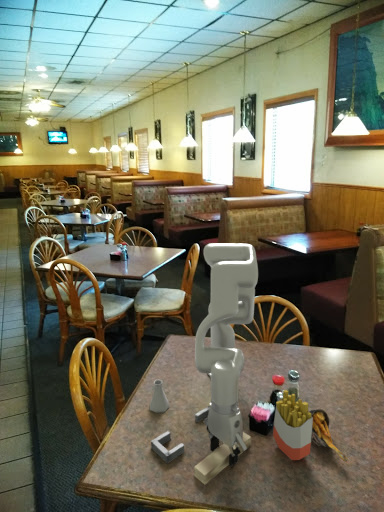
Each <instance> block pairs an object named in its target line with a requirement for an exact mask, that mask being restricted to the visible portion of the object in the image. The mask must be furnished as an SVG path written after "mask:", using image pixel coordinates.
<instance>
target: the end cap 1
mask: <svg viewBox="0 0 384 512" xmlns="http://www.w3.org/2000/svg"><path fill="white" fill-rule="evenodd" d="M169 441H171V432H170V431H169V430H167V431H165V432H163V433H162V434H160V435H159V436H157V437H155V438H154V439H152V440H151V441H150V447H151V449H152V450H153V451H154V452H155V453H156V454H157V455H158V456H159V457H160V458H161V459H162V460H163V461H164V463H166V464H170V462H172V461H173V460H175V459H176V458H178V457H179V456H181V455H182V454H184V453H185V445H184V443H182V442H181V443H179V444H178V445H176V446H175V447H173V448H171V449H170V450H168V449H167V448H166V447H164V444H166V443H167V442H169Z"/></svg>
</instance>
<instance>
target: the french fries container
mask: <svg viewBox="0 0 384 512" xmlns="http://www.w3.org/2000/svg"><path fill="white" fill-rule="evenodd" d="M275 405H276V406H275V411H274V418H273V419H274V421H273V431H272V432H273V433H272V435H273V439H274V440H275V443H276V444H277V447H278V449H279V450H281V451H282V452H283V453H284V455H286V456H287V457H288V458H289V460H290V459H291V461H300V460H302V459H303V458H305V457H307V456H308V455H310V454H311V446H312V436H311V435H312V423H313V417H312V416H311V413H310V412H309V405H310V404H309V403H308V402H306V401H303V400H302V399H300V398H299V399H298V400H297V401H296V393H295V394H294V393H292V394H289V390H288V389H284V390H282V397H280V398H279V400H278V401H276V402H275Z"/></svg>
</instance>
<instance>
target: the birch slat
mask: <svg viewBox="0 0 384 512" xmlns="http://www.w3.org/2000/svg"><path fill="white" fill-rule="evenodd" d="M243 442H244V444H245V445H246V447H247V449H248V448H250V447H251V445H252V436H250V435H249V434H247V433H245V431H243ZM233 449H236V447H235V445H234V446H233ZM243 453H244V452H242V453H240V454H238V457H240V456H241V454H243ZM229 454H230V450H229V446H227V445H226V444H224V443H222V444H221V445H219V447H218V448H217V449H215V450H214V451H211V453H210V454H208V455H207V456H206V457H205V458H204V459H202V460H201V461H200V462H198V463H197V464H196V465H194V477H195V478H196V479H198V480H199V481H200V482H201V483H202V484H204V485H207V484H208V483H209V482H210V481H211V480H212V479H213V478H215V477H216V476H217V475H218V474H219V473H220V472H222V471H223V470H224V469H225V468H227V466H229Z"/></svg>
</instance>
